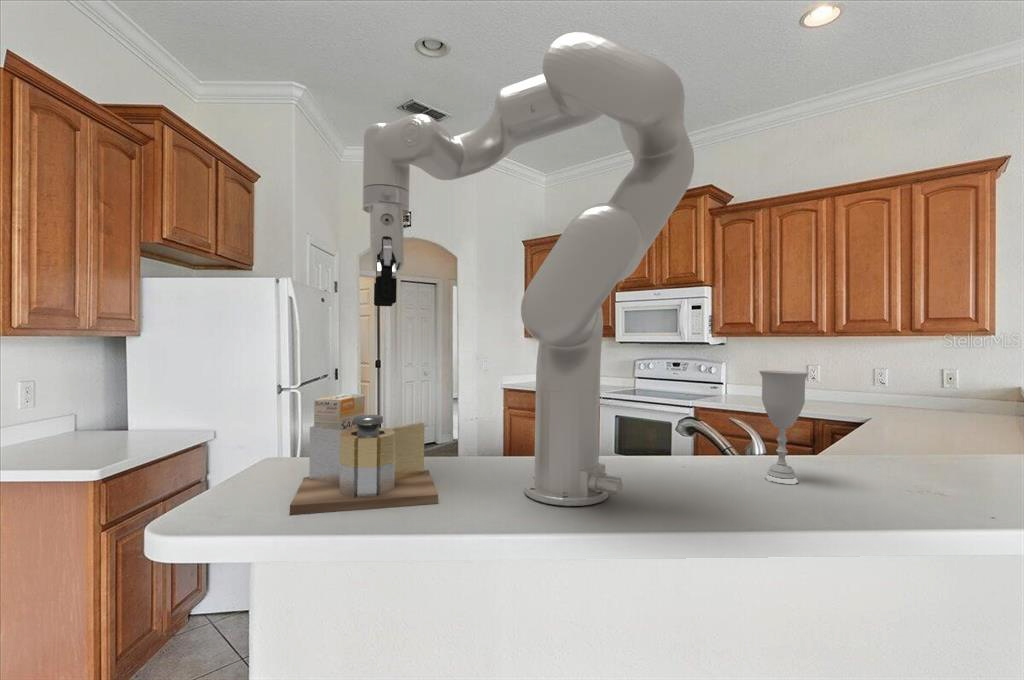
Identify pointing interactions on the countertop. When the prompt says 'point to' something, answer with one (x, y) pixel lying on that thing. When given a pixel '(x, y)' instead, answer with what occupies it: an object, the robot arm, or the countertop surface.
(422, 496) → the walnut board
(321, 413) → the supplement box
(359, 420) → the hinge pin
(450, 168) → the robot arm
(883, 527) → the countertop surface
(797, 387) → the chalice
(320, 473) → the hinge
